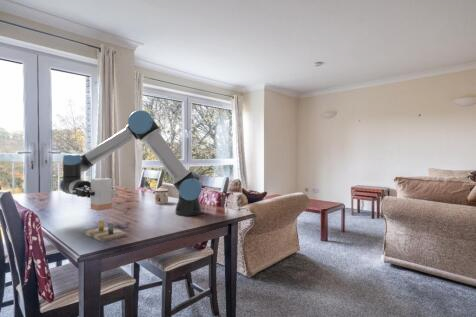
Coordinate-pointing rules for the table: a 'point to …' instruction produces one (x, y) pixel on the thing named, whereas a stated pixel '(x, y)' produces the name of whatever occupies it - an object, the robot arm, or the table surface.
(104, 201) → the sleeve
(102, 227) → the brass pin
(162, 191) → the wooden birdhouse
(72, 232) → the table surface
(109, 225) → the steel pin
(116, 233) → the pin board
